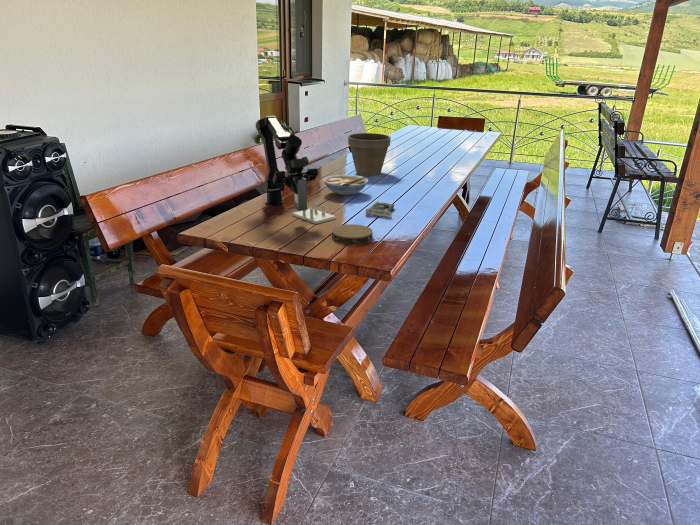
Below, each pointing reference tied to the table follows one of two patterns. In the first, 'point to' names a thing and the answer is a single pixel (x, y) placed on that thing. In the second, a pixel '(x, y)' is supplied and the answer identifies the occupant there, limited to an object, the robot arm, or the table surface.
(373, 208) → the graphics card
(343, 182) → the ramen bowl
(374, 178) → the table surface
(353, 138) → the plant pot
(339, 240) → the brown flat round piece
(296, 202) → the block
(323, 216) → the pin tray
